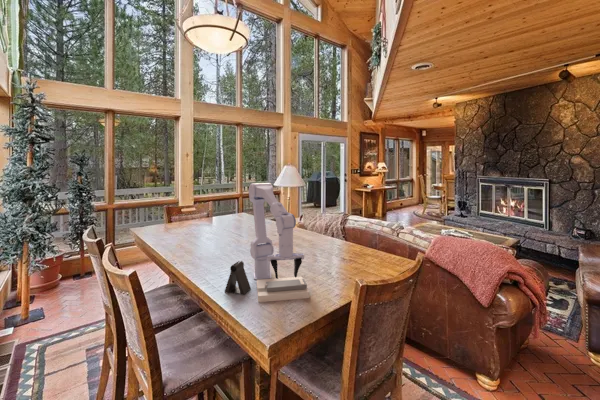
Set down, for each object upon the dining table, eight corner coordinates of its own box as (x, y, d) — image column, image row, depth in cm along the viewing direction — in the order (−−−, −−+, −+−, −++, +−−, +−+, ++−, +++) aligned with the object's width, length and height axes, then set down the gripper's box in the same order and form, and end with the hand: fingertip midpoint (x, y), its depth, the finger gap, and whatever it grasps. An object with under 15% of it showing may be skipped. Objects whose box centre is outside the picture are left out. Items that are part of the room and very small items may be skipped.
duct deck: (256, 285, 126) (256, 279, 126) (301, 281, 130) (301, 276, 130) (258, 302, 111) (258, 296, 111) (309, 297, 114) (309, 291, 114)
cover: (264, 285, 119) (264, 281, 119) (303, 282, 122) (303, 278, 122) (265, 292, 113) (265, 287, 113) (306, 288, 116) (306, 284, 116)
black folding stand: (250, 289, 123) (250, 261, 121) (244, 295, 117) (243, 266, 116) (231, 286, 125) (231, 259, 124) (224, 292, 120) (223, 264, 118)
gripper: (268, 248, 110) (268, 282, 112) (305, 246, 113) (305, 279, 114) (267, 243, 117) (267, 275, 119) (302, 241, 120) (302, 273, 121)
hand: (286, 277), depth 117 cm, fingers open, 7 cm apart
